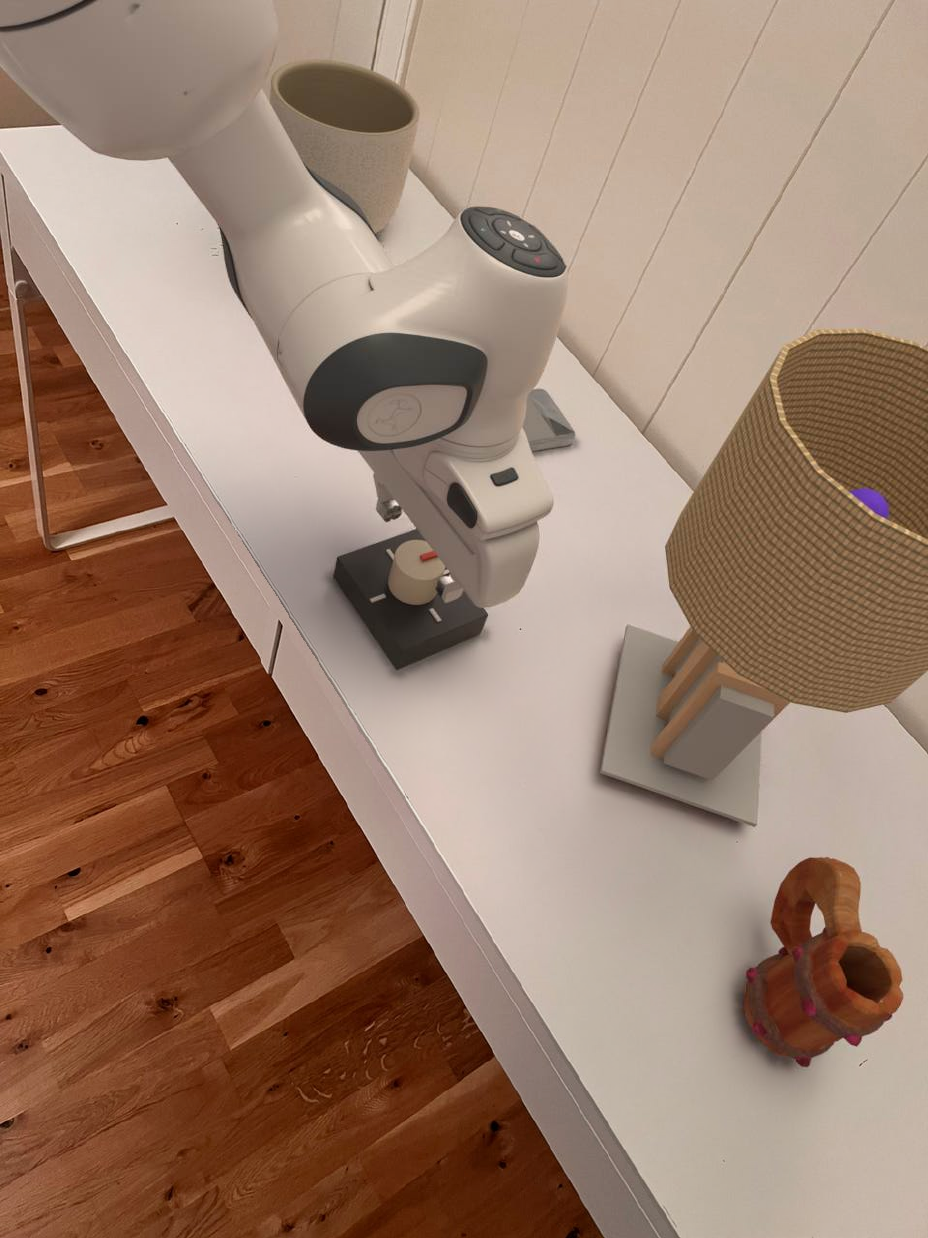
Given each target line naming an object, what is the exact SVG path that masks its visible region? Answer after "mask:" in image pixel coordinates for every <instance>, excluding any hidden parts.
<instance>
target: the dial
mask: <svg viewBox="0 0 928 1238" xmlns="http://www.w3.org/2000/svg"><path fill="white" fill-rule="evenodd" d="M445 567H446V566H445V565H444V564H443V563H442V561H441V560H440V559H439V557H438V556H437V555H436V553H435V552H434V551H433V549H432V548H431V547H430V545H429V544H428V543H427V542H426V541H422V540H410V541H407V542H405V543H403V544H401V545H400V546H399V547H398V548H397V550H396V552H395V556H394V560H393V564H392V567H391V571H390V575H389V579H388V585H389V588H390V591H391V592H392V594H393V595H394V596H395V597H396V598H397V599H399V600H400V601H402V602H404V603H407V604H411V605H422V604H425V603H428V602H430V601H431V600H432V599H433V598H434V597H435V596H436V594H437V591H436V590H435V588H436V586H437V582H438V579H439V578H441V577H443V574H444V571H445Z"/></svg>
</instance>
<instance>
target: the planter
mask: <svg viewBox="0 0 928 1238" xmlns="http://www.w3.org/2000/svg"><path fill="white" fill-rule="evenodd" d="M269 93H270V94H269V102H270V104H271V106H272V108H273V110H274V111H275V113H276V115H277V117H278V119H279V120H280V122H281V124H282V126H283V128H284V129H285V131H286V133H287V135H288V137H289V138H290V140H291V142H292V144H293V146H294V148H295V149H296V151H297V153H298V155H299V157H300V158H301V160H302V161H303V162H304V164H305V165H306V166H307V167H308V168H310V169H311V170H312V171H314V172H315V173H316V174H318V175H319V176H321V177H322V178H324V179H325V180H327V181H328V182H330V183H332V184H333V185H335V186H336V187H338V188H339V189H341V190H342V191H343V192H345V193H346V194H347V195H348V196H350V197H351V198H352V199H353V200H354V201H355V202H356V203H357V204H358V206H359V207H360V208H361V209H362V211H363V212H364V214H365V216H366V218H367V220H368V221H369V223H370V225H371V227H372V229H373V231H374V232H375V234H377V233H378V232H380V231H381V230H382V229H384V228H385V227H386V226H387V225H389V223H390V222H391V220H392V219H393V218H394V216H395V214H396V212H397V210H398V208H399V206H400V203H401V199H402V196H403V193H404V189H405V186H406V181H407V176H408V172H409V167H410V164H411V159H412V153H413V150H414V145H415V140H416V135H417V131H418V125H419V121H420V107H419V105H418V103H417V101H416V100H415V98H414V97H413V96H412V95H411V94H410V92H408V91H407V90H406V89H405V88H404V87H403V86H402V85H400V84H399V83H397V82H396V81H394V80H392V79H391V78H389V77H388V76H385V75H383V74H381V73H379V72H376V71H374V70H372V69H369V68H366V67H363V66H360V65H356V64H352V63H349V62H344V61H337V60H331V59H330V60H329V59H302V60H295V61H292V62H289V63H287V64H285V65H282V66H281V67H279V68H278V69H276V70H275V72H274V73H273V74H272V77H271V81H270V92H269Z"/></svg>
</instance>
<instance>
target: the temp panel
mask: <svg viewBox="0 0 928 1238" xmlns="http://www.w3.org/2000/svg"><path fill="white" fill-rule="evenodd" d="M410 540H422V541H426V540H425V539H424V538H423V536H422V535H421V534H420V532H419V531H418V530H417V528H415V529H412V530H409V531H406V532H403V533H400V534H398V535H395V536H394V535H393V536H391V537H389V538H386V539H383V540H379V541H378V542H374V543H371V544H369V545H366V546H363V547H361V548H357V549H355V550H350V551H349V552H346V553H344V554H340V555H337V556H336V560H335V565H334V570H333V576H332V578H333V580H334V581H335V583H336V584H337V586H338V587H339V588H340V590H341V591H342V593H343V594H344V596H345V597H346V599H347V600H348V602H349V603H350V605H351V606H352V608H353V609H354V610H355V612H356V613H357V615H358V616H359V618H360V619H361V621H362V622H363V624H364V625H365V627H366V628H367V629H368V631H369V632H370V633H371V635H372V637H373V638H374V639H375V641H376V642H377V644H378V645H379V647H380V649H381V650H382V651H383V653H384V654H385V655H386V657H387V658H388V660H389V661H390V663H391V665H392V666H393V668H394V669H395V670H396V671H398V670H400V669H403V668H405V667H408V666H410V665H412V664H415V663H417V662H419V661H421V660H424V659H426V658H428V657H431V656H433V655H435V654H437V653H440V652H442V651H444V650H447V649H449V648H451V647H453V646H456V645H458V644H460V643H463V642H465V641H467V640H469V639H472V638H474V637H476V636H479V635H481V633H482V631H483V629H484V626H485V624H486V622H487V619H488V618H489V613H488V612H487V610H486V608H479V607H477V606H475V605H474V604H473V602H472V601H471V600H470V598H469V597H468V595H467V594H466V593H465V591H464V590H463V592H462V595H461V596H460V597H459V598H457V599H455V600H453V601H450V602H448V603H445V602H444V601H443V600H442V598H441V597H440V595H439V594H438V593H437V594H436V596H435V597H434V598H433V599H432V600H431V601H430V602H428V603H425V604H422V605H411V604H407V603H404V602H402V601H400V600H399V599H397V598H396V597H395V596H394V595H393V594H392V592H391V591H390V588H389V585H388V579H389V575H390V571H391V567H392V564H393V560H394V556H395V552H396V550H397V548H398V547H399V546H400V545H401V544H403V543H405V542H407V541H410ZM426 542H427V541H426ZM449 574H451V573H450V572H449V570H448V569H447V568H446V567H445V571H444V574H443V577H444V576H449Z"/></svg>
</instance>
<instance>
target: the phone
mask: <svg viewBox="0 0 928 1238" xmlns="http://www.w3.org/2000/svg"><path fill="white" fill-rule="evenodd" d="M522 428H523V430H524V432H525V434H526V436H527V440H528V443H529V446H530V449H531V451H532V453H533V452H540V451H545V450H551V449H557V448H562V447H568V446H571V445H572V444H573V443H574V440H575V438H576V431H575V430H574V429H573V427H572V425H571V424H570V422H569V421H568V420H567V418H566V417H565V415H564V414H563V413H562V411H561V410H560V408H559V407H558V406H557V404H556V403H555V401H554V400H553V398H552V397H551V396H550V394H549V393H548V391H547V390H546V389H544V388H534V389H533V390H532V391H531V392H530V393H529V395H528V397H527V401H526V416H525V420H524V423H523V426H522Z"/></svg>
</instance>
